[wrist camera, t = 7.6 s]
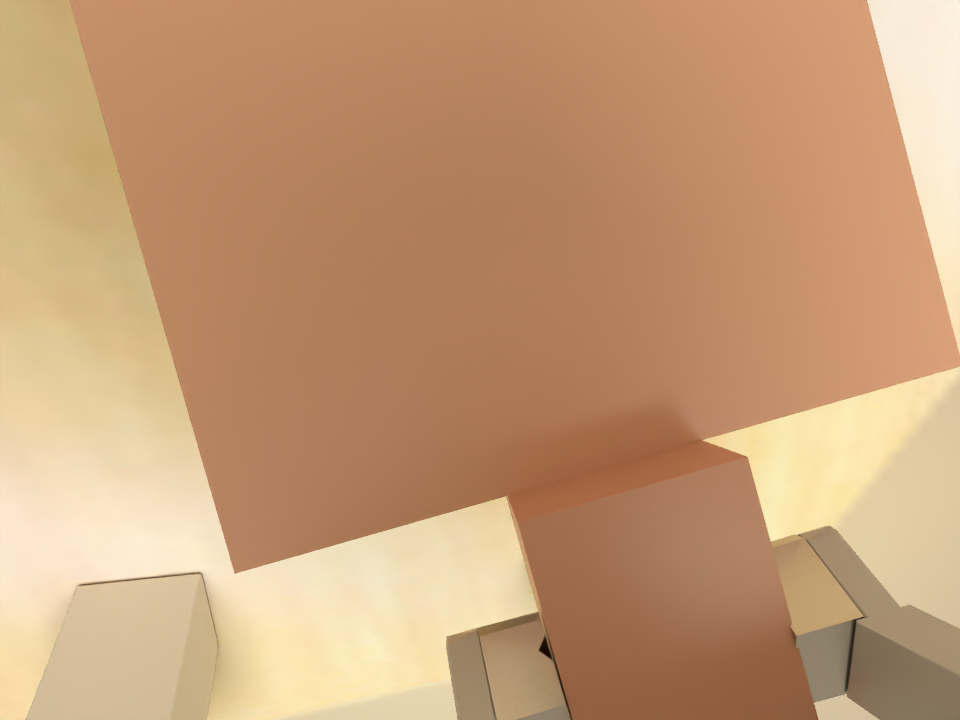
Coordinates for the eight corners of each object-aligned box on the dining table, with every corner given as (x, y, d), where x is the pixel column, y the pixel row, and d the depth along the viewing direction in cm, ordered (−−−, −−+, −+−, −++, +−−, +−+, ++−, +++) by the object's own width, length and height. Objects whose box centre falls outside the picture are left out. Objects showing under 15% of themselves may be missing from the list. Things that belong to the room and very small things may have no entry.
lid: (-9, -369, 12) (-161, -605, 9) (678, -532, 12) (750, -812, 9) (335, 828, 13) (298, 978, 10) (985, 633, 13) (1145, 718, 10)
